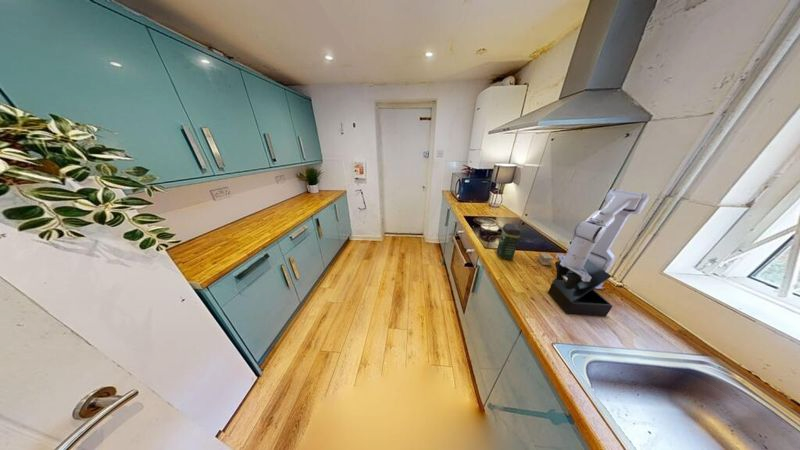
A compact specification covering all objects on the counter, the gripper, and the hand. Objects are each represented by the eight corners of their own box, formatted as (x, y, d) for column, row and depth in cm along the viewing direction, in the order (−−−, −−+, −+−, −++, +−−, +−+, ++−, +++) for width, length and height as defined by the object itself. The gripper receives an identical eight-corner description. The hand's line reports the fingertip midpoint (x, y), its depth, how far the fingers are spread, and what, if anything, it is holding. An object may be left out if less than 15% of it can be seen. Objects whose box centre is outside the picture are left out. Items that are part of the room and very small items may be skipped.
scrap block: (545, 260, 108) (548, 253, 106) (550, 265, 104) (553, 258, 102) (537, 260, 108) (540, 253, 106) (542, 264, 104) (545, 257, 102)
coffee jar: (514, 261, 106) (524, 230, 99) (499, 259, 108) (507, 228, 100) (509, 251, 115) (517, 222, 107) (494, 250, 116) (502, 221, 108)
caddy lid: (585, 257, 77) (577, 251, 76) (611, 276, 67) (603, 269, 66) (553, 281, 83) (545, 276, 82) (573, 302, 72) (564, 297, 72)
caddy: (582, 294, 85) (587, 284, 82) (605, 316, 74) (612, 305, 72) (547, 292, 85) (552, 282, 83) (566, 314, 75) (572, 303, 72)
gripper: (553, 243, 77) (541, 271, 83) (581, 265, 64) (566, 297, 70) (571, 244, 77) (559, 272, 82) (604, 266, 64) (586, 298, 69)
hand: (563, 283), depth 76 cm, fingers closed on caddy lid, 4 cm apart
